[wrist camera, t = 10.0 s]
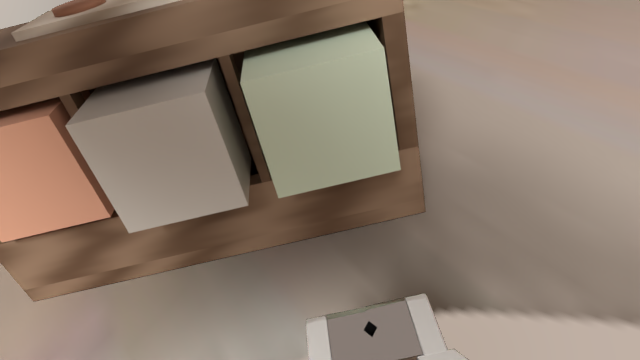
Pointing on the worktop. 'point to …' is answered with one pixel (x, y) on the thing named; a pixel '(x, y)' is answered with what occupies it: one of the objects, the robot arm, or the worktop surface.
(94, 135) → the key middle
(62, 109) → the key left
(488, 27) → the worktop surface
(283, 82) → the key right
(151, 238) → the keypad console
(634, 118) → the worktop surface
